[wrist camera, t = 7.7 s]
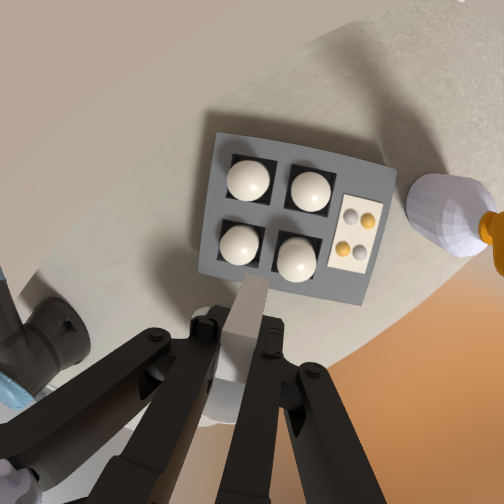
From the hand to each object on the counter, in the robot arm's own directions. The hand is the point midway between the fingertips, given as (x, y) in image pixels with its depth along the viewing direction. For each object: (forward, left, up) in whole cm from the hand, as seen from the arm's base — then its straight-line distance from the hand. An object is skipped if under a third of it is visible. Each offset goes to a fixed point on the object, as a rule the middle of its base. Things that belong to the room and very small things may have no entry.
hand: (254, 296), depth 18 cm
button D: (+3, +6, -21) cm, 22 cm away
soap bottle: (+21, +8, -22) cm, 32 cm away
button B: (-4, +6, -19) cm, 20 cm away
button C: (+3, -2, -19) cm, 20 cm away
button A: (-4, -2, -21) cm, 21 cm away
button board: (+2, +2, -22) cm, 22 cm away
